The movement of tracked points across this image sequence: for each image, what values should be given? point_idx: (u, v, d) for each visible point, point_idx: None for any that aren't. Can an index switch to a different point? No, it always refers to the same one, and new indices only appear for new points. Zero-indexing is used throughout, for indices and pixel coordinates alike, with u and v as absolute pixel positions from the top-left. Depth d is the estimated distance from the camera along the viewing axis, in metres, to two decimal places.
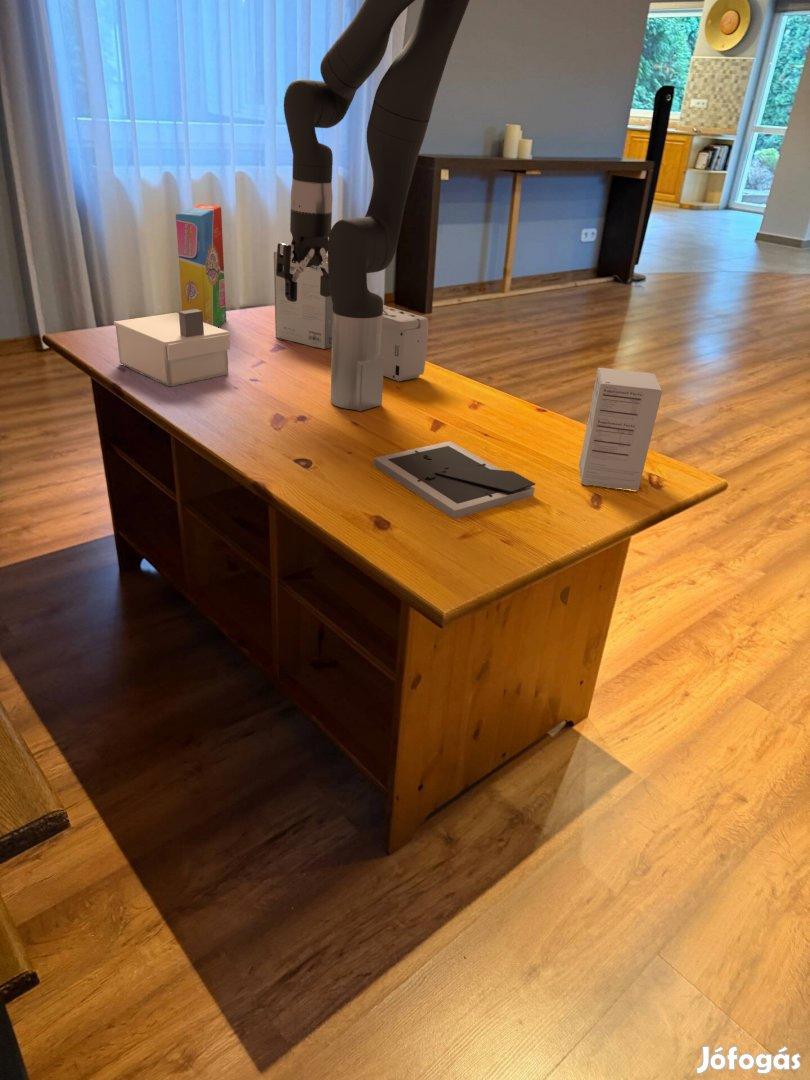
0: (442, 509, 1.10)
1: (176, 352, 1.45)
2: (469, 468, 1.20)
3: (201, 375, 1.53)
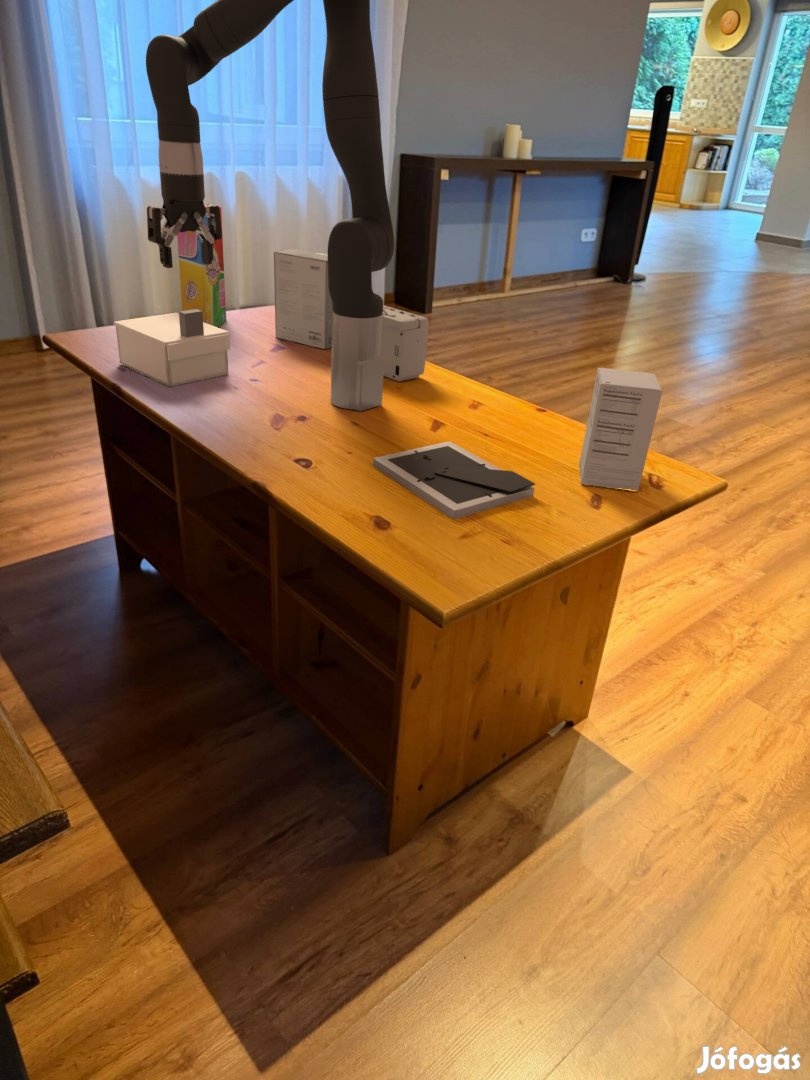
0: (442, 509, 1.10)
1: (176, 352, 1.45)
2: (469, 468, 1.20)
3: (201, 375, 1.53)
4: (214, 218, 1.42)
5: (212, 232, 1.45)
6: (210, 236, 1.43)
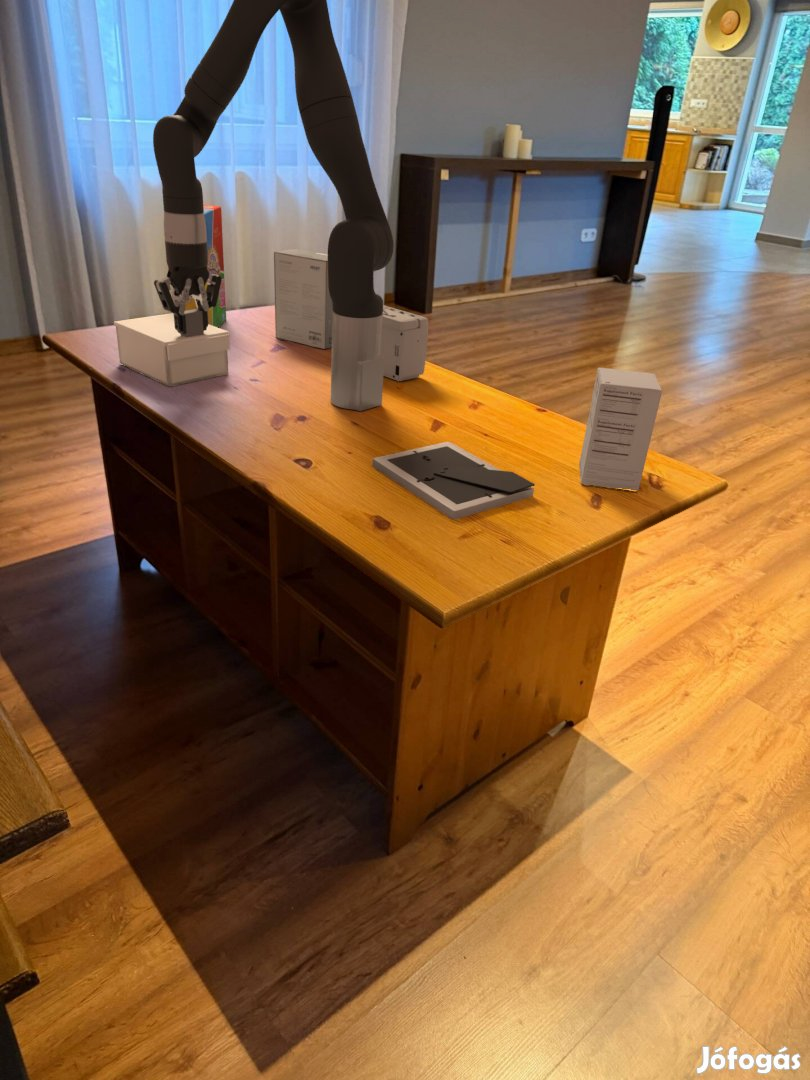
0: (442, 510, 1.10)
1: (176, 352, 1.45)
2: (468, 468, 1.20)
3: (201, 375, 1.53)
4: (214, 286, 1.48)
5: (208, 299, 1.49)
6: (205, 304, 1.48)
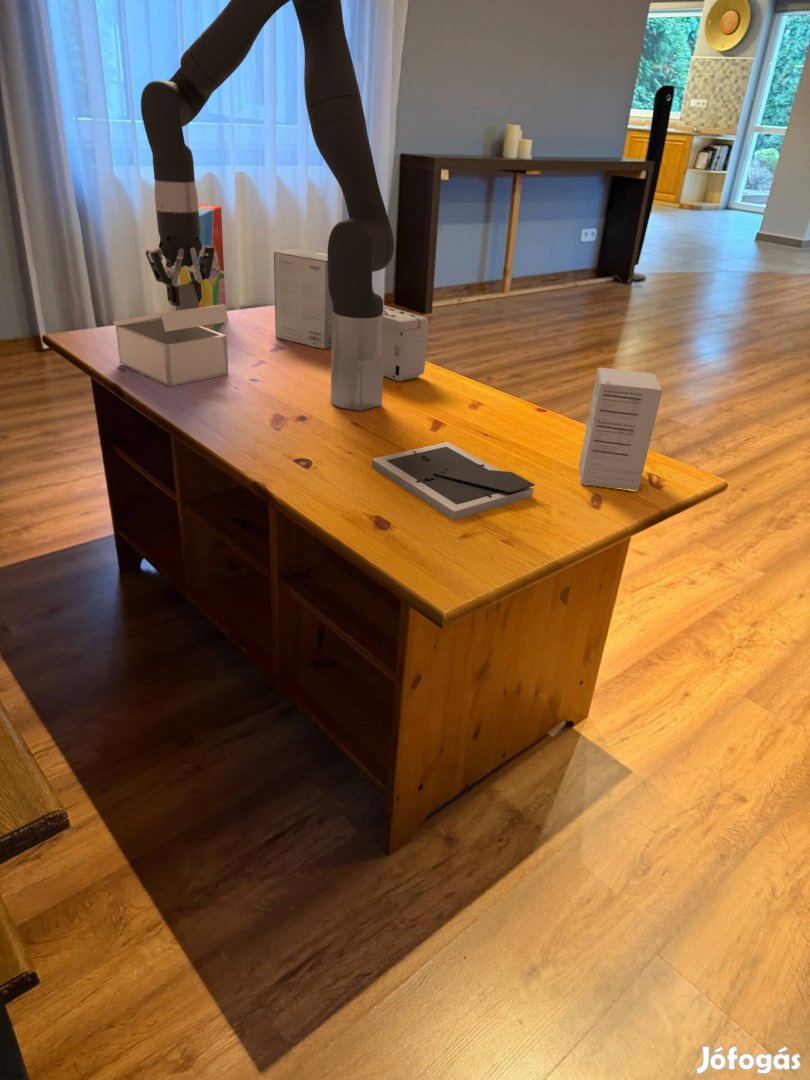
0: (441, 510, 1.10)
1: (172, 322, 1.43)
2: (468, 468, 1.19)
3: (201, 375, 1.53)
4: (207, 258, 1.46)
5: (201, 271, 1.48)
6: (198, 276, 1.46)
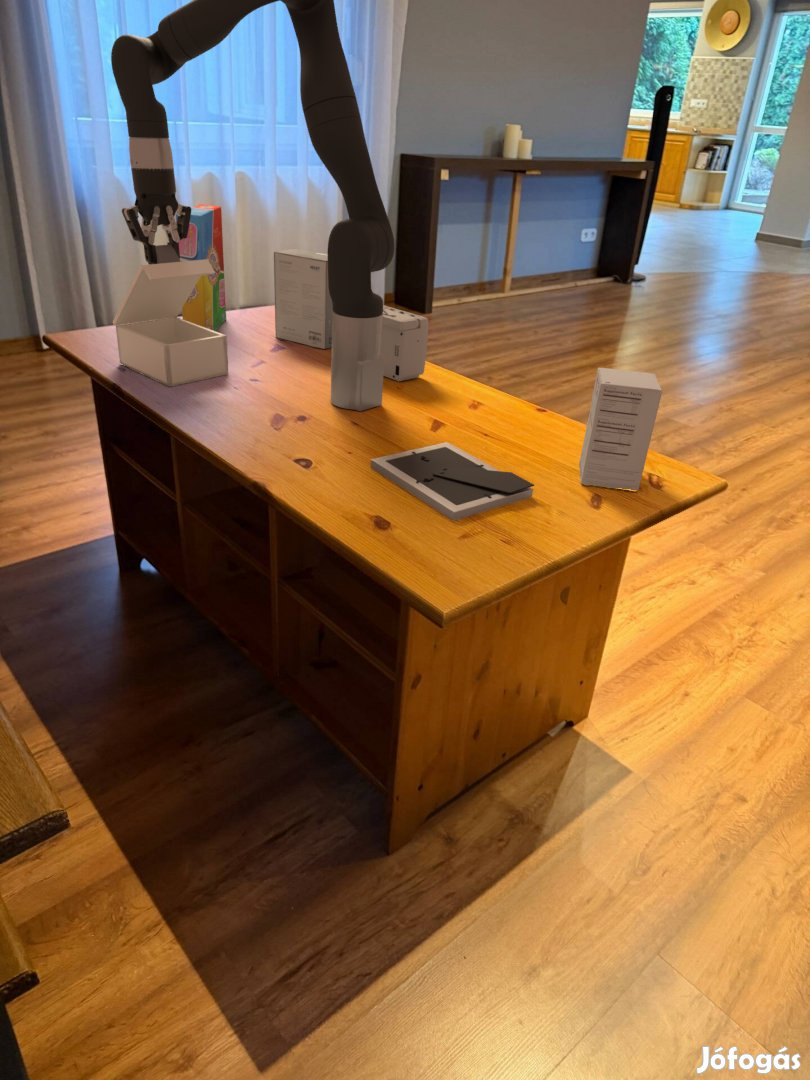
0: (441, 511, 1.09)
1: (155, 272, 1.41)
2: (467, 469, 1.19)
3: (201, 375, 1.53)
4: (184, 217, 1.47)
5: (178, 231, 1.49)
6: (175, 235, 1.47)
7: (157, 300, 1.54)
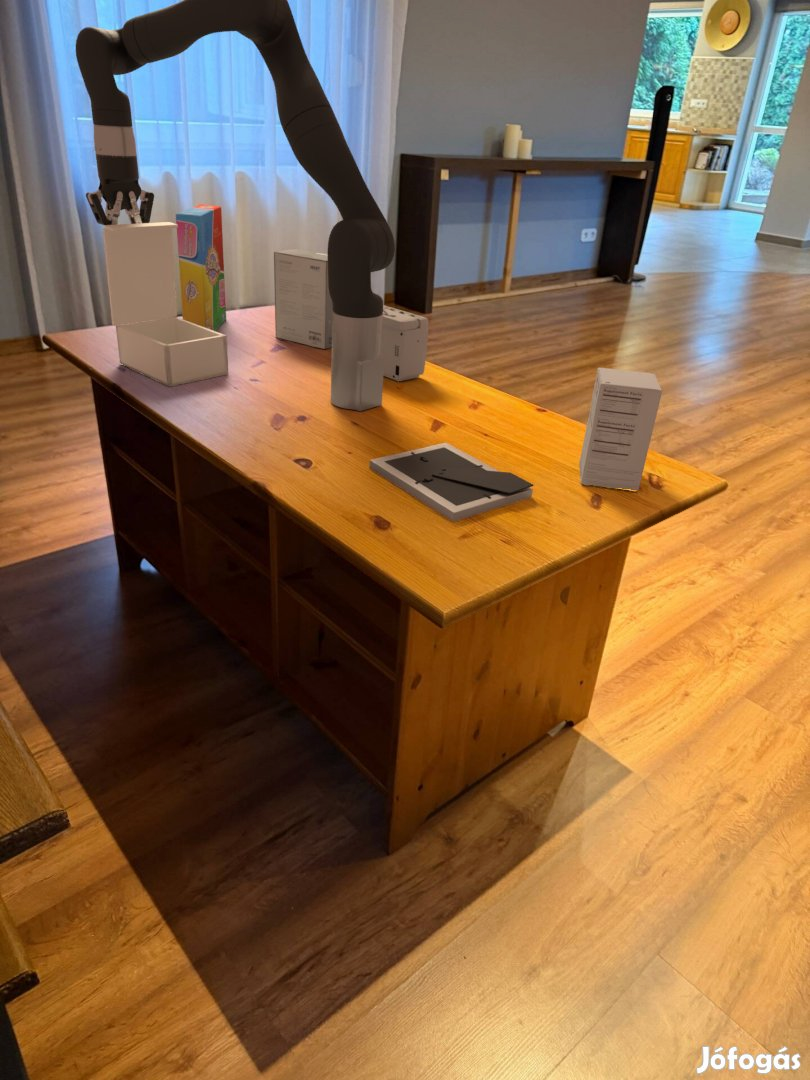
0: (441, 511, 1.09)
1: (117, 226, 1.45)
2: (467, 469, 1.19)
3: (201, 375, 1.53)
4: (147, 202, 1.54)
5: (141, 215, 1.55)
6: (138, 220, 1.54)
7: (143, 286, 1.55)
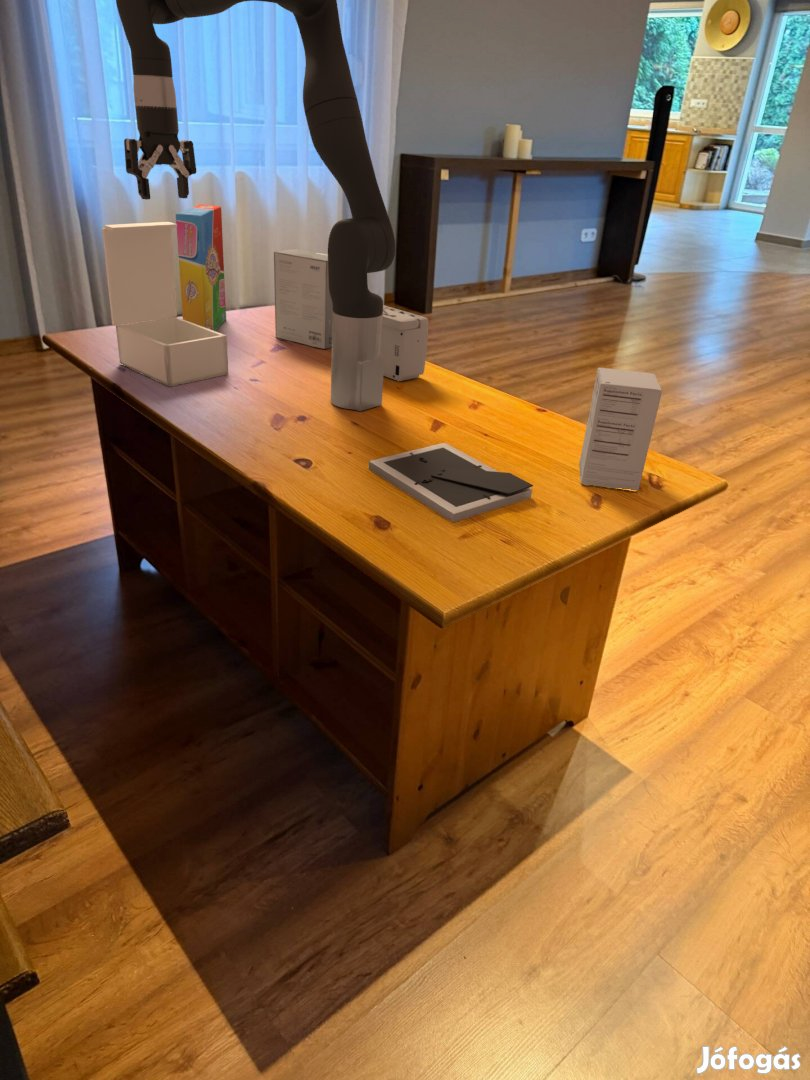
0: (441, 512, 1.09)
1: (116, 226, 1.45)
2: (466, 470, 1.19)
3: (201, 375, 1.53)
4: (188, 153, 1.51)
5: (187, 167, 1.53)
6: (185, 170, 1.51)
7: (143, 286, 1.56)
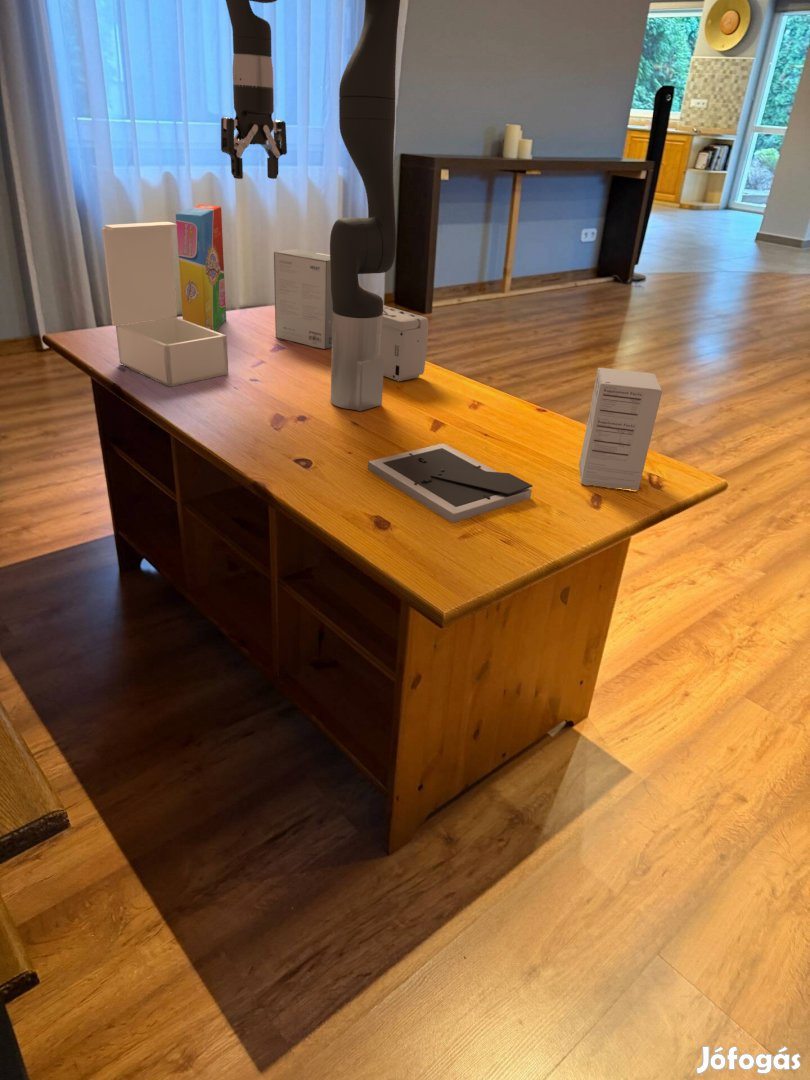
0: (440, 513, 1.09)
1: (116, 226, 1.45)
2: (465, 470, 1.19)
3: (201, 375, 1.53)
4: (280, 133, 1.51)
5: (278, 148, 1.53)
6: (276, 150, 1.52)
7: (143, 286, 1.56)
